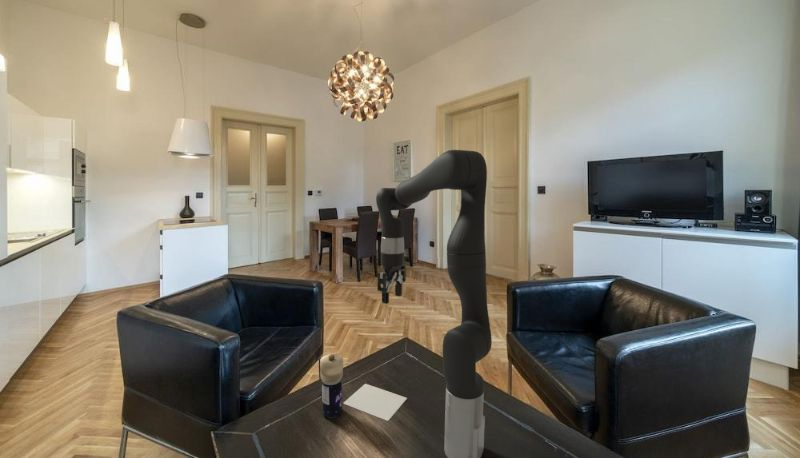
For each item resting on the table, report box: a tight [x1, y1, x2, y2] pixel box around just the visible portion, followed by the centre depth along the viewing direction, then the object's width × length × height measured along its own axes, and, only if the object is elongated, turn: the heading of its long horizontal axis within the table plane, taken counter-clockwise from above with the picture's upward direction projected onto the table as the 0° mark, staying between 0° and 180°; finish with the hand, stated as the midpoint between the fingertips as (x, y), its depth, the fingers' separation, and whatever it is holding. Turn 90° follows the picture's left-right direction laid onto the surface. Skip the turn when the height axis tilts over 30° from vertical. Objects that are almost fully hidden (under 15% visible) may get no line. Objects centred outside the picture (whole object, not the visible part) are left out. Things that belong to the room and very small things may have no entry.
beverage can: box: [321, 377, 343, 419], centre depth 98 cm, size 6×6×12 cm
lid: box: [319, 353, 344, 382], centre depth 97 cm, size 6×6×6 cm
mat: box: [342, 383, 408, 422], centre depth 104 cm, size 16×12×1 cm
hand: (392, 299), depth 109 cm, fingers open, 8 cm apart
